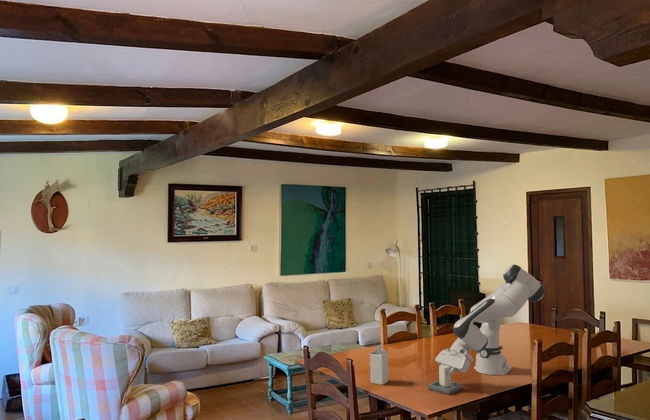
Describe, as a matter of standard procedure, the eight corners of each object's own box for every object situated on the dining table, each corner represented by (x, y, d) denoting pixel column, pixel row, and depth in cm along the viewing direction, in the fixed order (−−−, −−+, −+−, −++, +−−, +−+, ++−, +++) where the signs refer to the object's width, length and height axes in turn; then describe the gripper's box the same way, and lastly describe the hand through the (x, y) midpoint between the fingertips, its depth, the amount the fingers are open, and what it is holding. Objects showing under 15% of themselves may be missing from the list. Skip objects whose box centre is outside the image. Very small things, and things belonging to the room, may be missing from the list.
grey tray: (441, 384, 254) (441, 379, 254) (462, 389, 246) (461, 384, 246) (428, 389, 246) (428, 384, 246) (449, 394, 237) (448, 389, 237)
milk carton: (370, 383, 257) (369, 346, 258) (376, 379, 263) (376, 343, 264) (382, 385, 253) (381, 348, 254) (388, 381, 259) (387, 345, 260)
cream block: (445, 382, 248) (445, 364, 249) (450, 385, 245) (450, 366, 245) (439, 384, 247) (438, 366, 247) (444, 386, 243) (444, 367, 243)
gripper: (441, 344, 259) (427, 365, 254) (469, 352, 241) (454, 375, 236) (448, 351, 261) (434, 373, 256) (476, 360, 243) (461, 383, 238)
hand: (444, 374), depth 246 cm, fingers closed on cream block, 4 cm apart
